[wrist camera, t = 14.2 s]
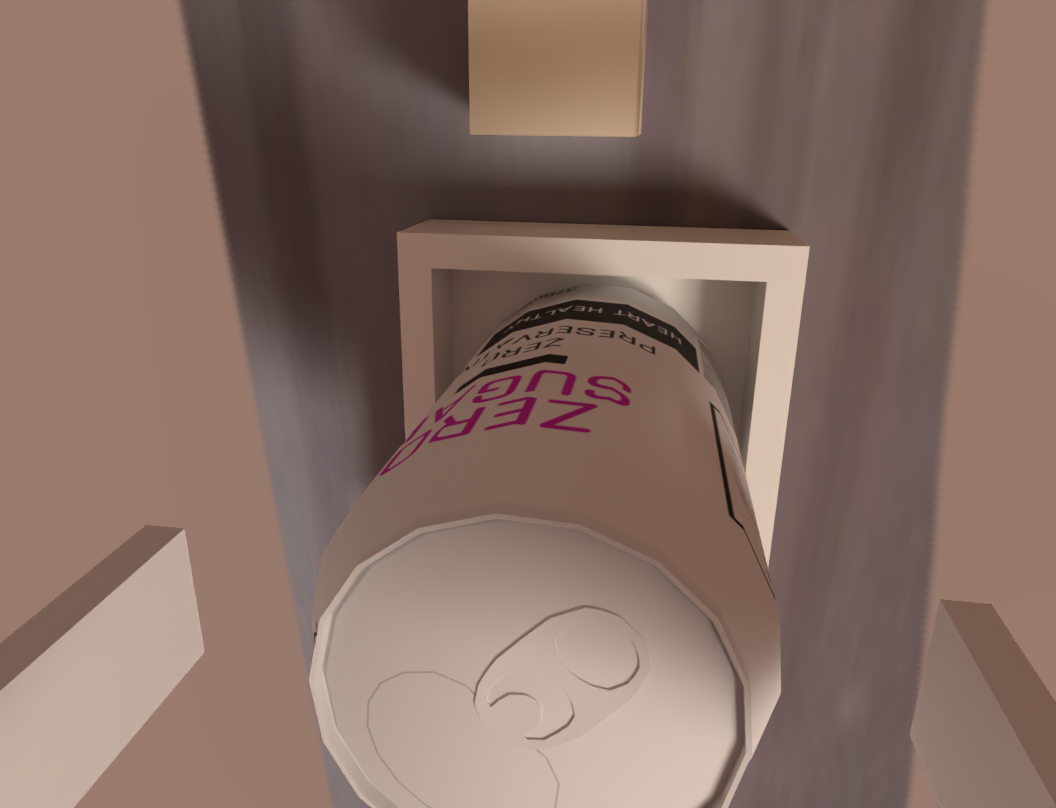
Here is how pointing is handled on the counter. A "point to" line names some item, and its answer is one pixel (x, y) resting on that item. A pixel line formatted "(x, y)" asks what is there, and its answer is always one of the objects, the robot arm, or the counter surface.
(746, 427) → the off-white tray
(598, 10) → the birch block
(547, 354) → the supplement can
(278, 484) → the counter surface
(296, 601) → the counter surface
